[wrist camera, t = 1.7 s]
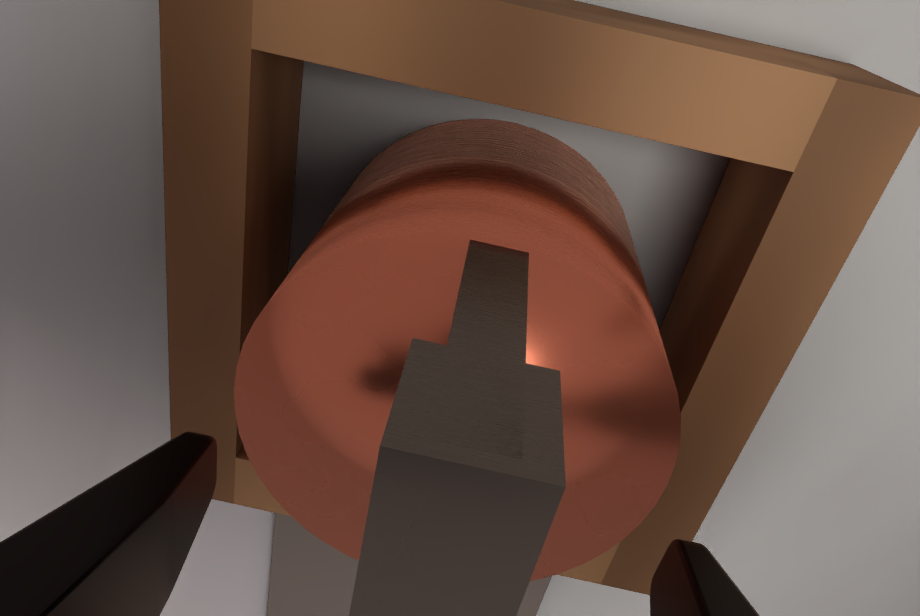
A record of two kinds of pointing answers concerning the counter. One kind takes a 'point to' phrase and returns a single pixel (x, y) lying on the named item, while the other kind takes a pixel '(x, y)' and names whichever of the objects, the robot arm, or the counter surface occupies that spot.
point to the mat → (330, 576)
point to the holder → (555, 95)
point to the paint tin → (463, 374)
